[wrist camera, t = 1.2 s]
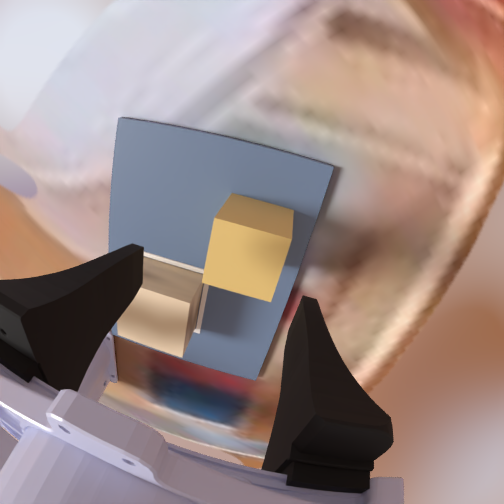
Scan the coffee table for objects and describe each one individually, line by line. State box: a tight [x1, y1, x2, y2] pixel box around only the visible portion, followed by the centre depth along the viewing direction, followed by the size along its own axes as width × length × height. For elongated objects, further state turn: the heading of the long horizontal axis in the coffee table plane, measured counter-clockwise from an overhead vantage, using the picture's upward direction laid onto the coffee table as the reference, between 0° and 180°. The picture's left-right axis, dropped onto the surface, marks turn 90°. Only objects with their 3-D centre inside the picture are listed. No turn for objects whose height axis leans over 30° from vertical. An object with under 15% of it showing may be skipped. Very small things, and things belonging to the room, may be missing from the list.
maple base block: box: [117, 257, 203, 358], centre depth 25 cm, size 6×6×4 cm
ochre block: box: [202, 193, 294, 302], centre depth 21 cm, size 4×4×5 cm
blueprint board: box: [109, 117, 334, 380], centre depth 26 cm, size 22×16×1 cm
